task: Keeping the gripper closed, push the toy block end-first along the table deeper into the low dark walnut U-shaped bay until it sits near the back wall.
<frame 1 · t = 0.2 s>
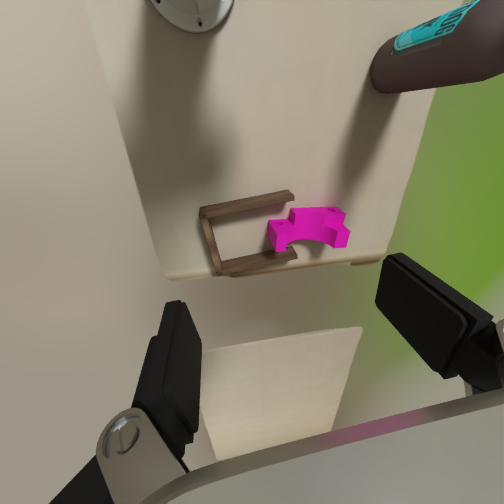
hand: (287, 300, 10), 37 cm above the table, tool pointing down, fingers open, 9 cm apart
toy block: (300, 220, 50), on the table
walnut bay: (241, 232, 49), on the table
beer bottle: (389, 67, 38), on the table
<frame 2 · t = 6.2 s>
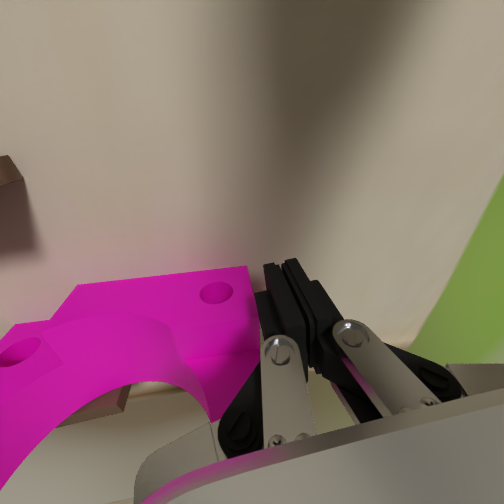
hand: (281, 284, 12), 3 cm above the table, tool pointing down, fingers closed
toy block: (142, 312, 16), on the table, touching gripper, walnut bay
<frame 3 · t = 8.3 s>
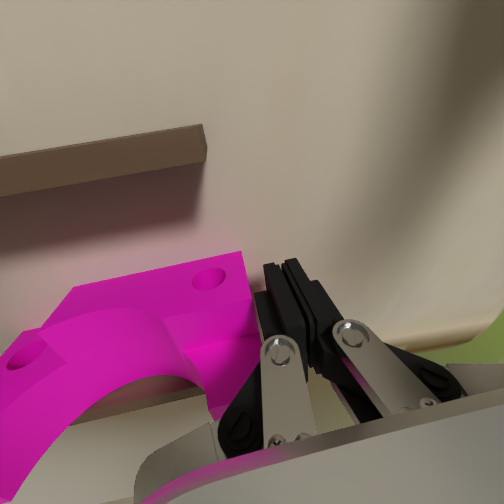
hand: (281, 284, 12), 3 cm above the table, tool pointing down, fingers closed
toy block: (143, 308, 16), on the table, touching gripper, walnut bay
walnut bay: (50, 292, 13), on the table
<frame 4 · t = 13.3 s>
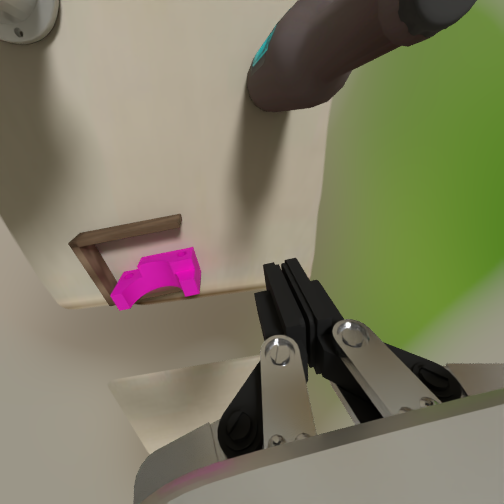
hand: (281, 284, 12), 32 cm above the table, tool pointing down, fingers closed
toy block: (161, 265, 47), on the table
walnut bay: (136, 258, 45), on the table
beer bottle: (270, 82, 34), on the table
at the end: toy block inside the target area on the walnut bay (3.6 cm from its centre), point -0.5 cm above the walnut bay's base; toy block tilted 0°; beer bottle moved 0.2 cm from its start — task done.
